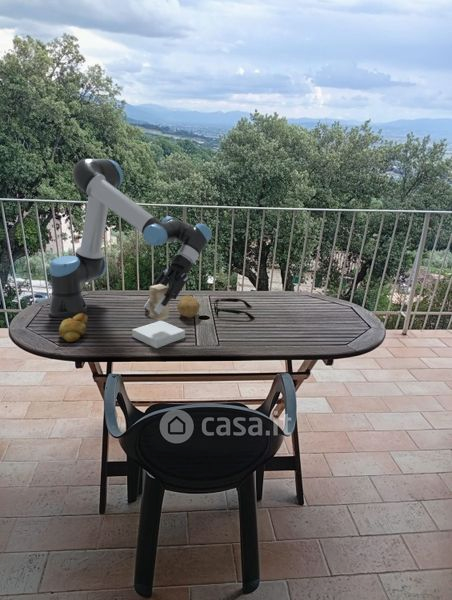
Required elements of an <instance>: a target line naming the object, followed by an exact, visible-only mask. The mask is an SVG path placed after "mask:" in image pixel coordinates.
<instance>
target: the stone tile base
mask: <svg viewBox="0 0 452 600" xmlns="http://www.w3.org/2000/svg"><path fill="white" fill-rule="evenodd" d="M131 330H132V332H131V334H132V338H135V339H136V340H138V341H141V342H143V343H144V344H146V345H148V346H151V347H153V348H154V349H159V348H161V347H163V346H166V345H169V344H171V343H174V342H177V341H179V340H182V339H185V338H186V330H185V329H183V328H180V327H177V326H175V325H173V324H171V323H168V322H166V321H163V320H160V321H158V320H157V321H154V322H153V323H152V322H151V323H149V324H146V325H143V326H139V327H135V328H133V329H131Z"/></svg>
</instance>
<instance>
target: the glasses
mask: <svg viewBox="0 0 452 600" xmlns="http://www.w3.org/2000/svg"><path fill="white" fill-rule="evenodd" d="M219 302H232V303H238V302H242V303H243V304H244V305H245V306H246V308H248V307H252V305H251V304H249V303H248V302H247V301H246V300H244V299H242V298H241V299H240V298H220V299H218V298H217V299H215V300H214V302H213V310H214V314H215V313H216V314H217V316H216V317H218V316H219V312H224V313H229V314H236V315H241V314H244V315H246V316H247V317H248V318H249V319H250V320H255V319H256V318H255V317H254V315H252V314H251V313H249V312H247V311H244V310H236V309H223V308H221V309H220V308H218V305H219V304H218V303H219ZM254 318H255V319H254Z"/></svg>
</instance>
